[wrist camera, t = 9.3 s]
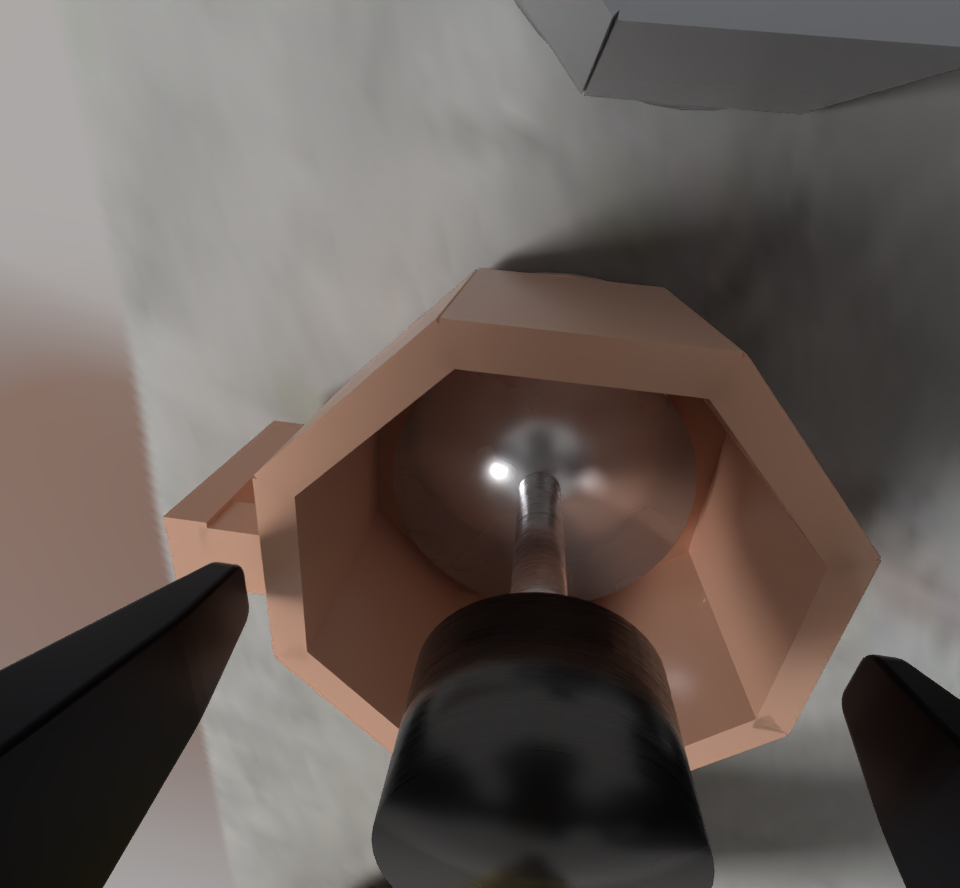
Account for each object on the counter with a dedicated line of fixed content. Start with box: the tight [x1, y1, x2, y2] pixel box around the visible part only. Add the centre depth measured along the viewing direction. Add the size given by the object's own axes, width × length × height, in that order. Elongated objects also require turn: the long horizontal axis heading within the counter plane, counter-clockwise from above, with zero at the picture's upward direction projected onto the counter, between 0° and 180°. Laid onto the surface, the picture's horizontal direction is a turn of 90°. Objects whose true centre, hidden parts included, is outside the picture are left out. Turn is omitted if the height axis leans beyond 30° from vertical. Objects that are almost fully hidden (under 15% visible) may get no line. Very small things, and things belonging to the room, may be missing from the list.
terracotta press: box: [163, 268, 881, 771], centre depth 10 cm, size 10×9×5 cm
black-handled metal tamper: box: [372, 369, 714, 888], centre depth 8 cm, size 6×6×8 cm
